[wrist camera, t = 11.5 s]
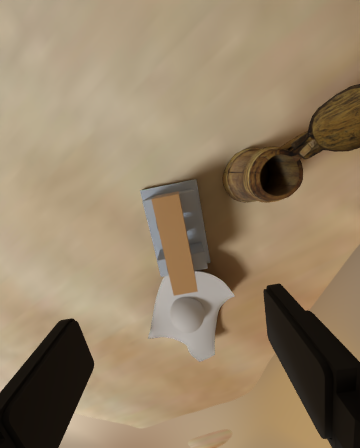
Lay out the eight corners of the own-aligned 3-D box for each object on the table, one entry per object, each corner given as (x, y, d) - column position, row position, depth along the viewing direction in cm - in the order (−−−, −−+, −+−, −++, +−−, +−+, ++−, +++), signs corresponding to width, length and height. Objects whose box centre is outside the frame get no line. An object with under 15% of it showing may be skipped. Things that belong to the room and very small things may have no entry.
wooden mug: (302, 153, 33) (445, 124, 15) (247, 211, 35) (314, 245, 18) (267, 116, 31) (379, 37, 14) (212, 180, 34) (247, 182, 16)
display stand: (141, 190, 34) (133, 192, 28) (195, 179, 34) (199, 179, 28) (160, 269, 38) (157, 285, 32) (209, 260, 37) (215, 275, 31)
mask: (141, 329, 41) (202, 341, 44) (136, 363, 34) (210, 375, 37) (169, 249, 37) (236, 268, 39) (171, 269, 29) (253, 290, 32)
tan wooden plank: (154, 195, 28) (149, 199, 23) (178, 191, 28) (178, 193, 23) (173, 277, 32) (172, 296, 27) (195, 274, 31) (197, 291, 27)
